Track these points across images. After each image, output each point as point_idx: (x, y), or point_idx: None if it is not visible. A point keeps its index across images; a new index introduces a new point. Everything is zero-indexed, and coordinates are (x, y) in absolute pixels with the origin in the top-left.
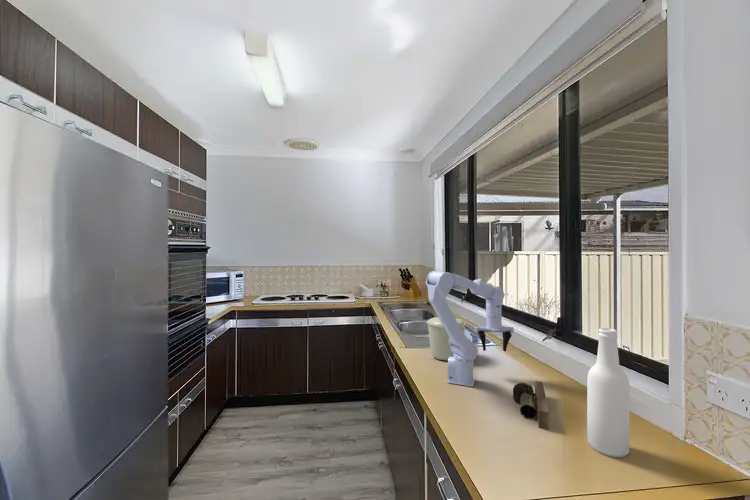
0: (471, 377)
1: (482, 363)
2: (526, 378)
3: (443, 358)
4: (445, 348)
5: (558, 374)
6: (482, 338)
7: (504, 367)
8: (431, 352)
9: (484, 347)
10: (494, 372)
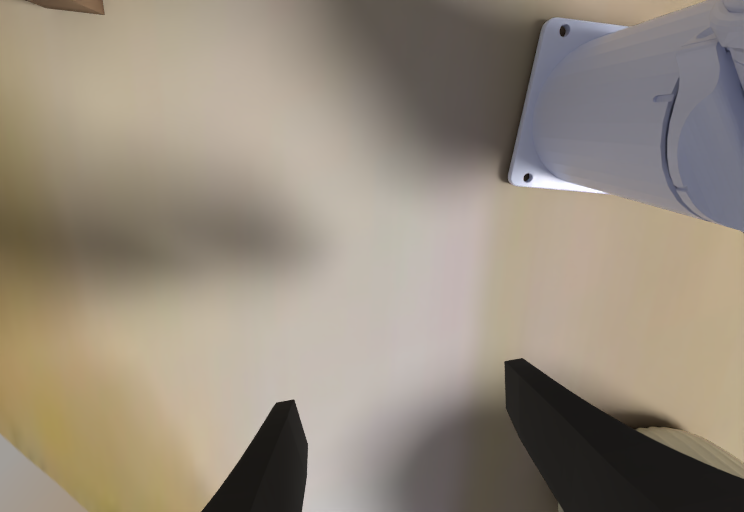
0: (576, 64)
1: (435, 454)
2: (188, 312)
3: (666, 430)
4: None
5: (22, 428)
6: (701, 478)
7: (317, 435)
8: None
9: (542, 380)
10: (375, 346)
